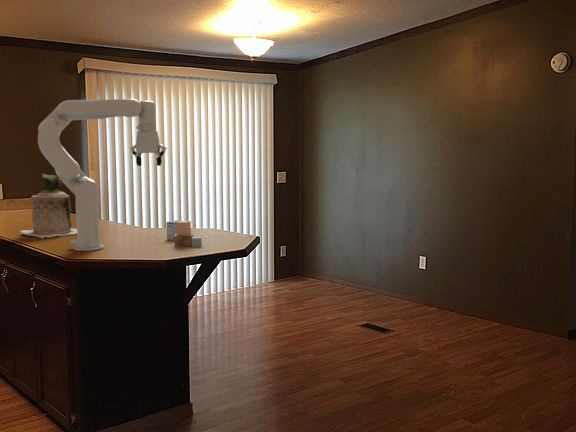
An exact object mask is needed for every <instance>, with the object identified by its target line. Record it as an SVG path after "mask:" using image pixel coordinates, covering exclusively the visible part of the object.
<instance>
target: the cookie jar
mask: <svg viewBox="0 0 576 432" xmlns="http://www.w3.org/2000/svg"><path fill="white" fill-rule="evenodd" d="M41 176H42V177H41V178H42V184H43V186H44V189H42V190H41V191H40V192H38V193H37V194H36V195H35V194H34V195H32V196H31V197H30V198H31V200H32V202H33V203H32V212H31V217H32V219H31V221H32V226H33V229H30V230H29V229H27V230H19V232H20V235H21V236H31V237H36V238H40V239H45V238H55V237H64V236H71V235H73V236H74V235H77V228H71V227H72V222H71V215H72V214H71V212H72V205H71V201H70V198H71V197H70V195H69V194H67V193H66V192H64V191H63V190H62V189H63V188H61V187H63V186H64V183H63V182H62V180H61V179H60V178H59V177H58V176H57V175H54V174H52V175H51V174H50V175H48V174H45V173H42V174H41Z"/></svg>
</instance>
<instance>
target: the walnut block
mask: <svg viewBox="0 0 576 432" xmlns="http://www.w3.org/2000/svg"><path fill="white" fill-rule="evenodd" d="M192 237H194V233H193V232H191V234H190V235H187V236H182V235H176V234H175V236H174V240H173V241H174V247H175V246H181V247H192Z"/></svg>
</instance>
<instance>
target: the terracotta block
mask: <svg viewBox="0 0 576 432" xmlns="http://www.w3.org/2000/svg"><path fill="white" fill-rule="evenodd" d="M191 224H192V223H191V220H180V221H179V222H176V235H182V236H187V235H190V234H191V233H192V227H191V226H192V225H191Z"/></svg>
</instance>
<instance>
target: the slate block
mask: <svg viewBox="0 0 576 432" xmlns="http://www.w3.org/2000/svg"><path fill="white" fill-rule="evenodd" d="M202 238H203V237H202V236H193V237H192V246H191V247H192V248H199V247H200V248H201V247H202V244H203V243H202V241H203V240H202Z"/></svg>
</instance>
